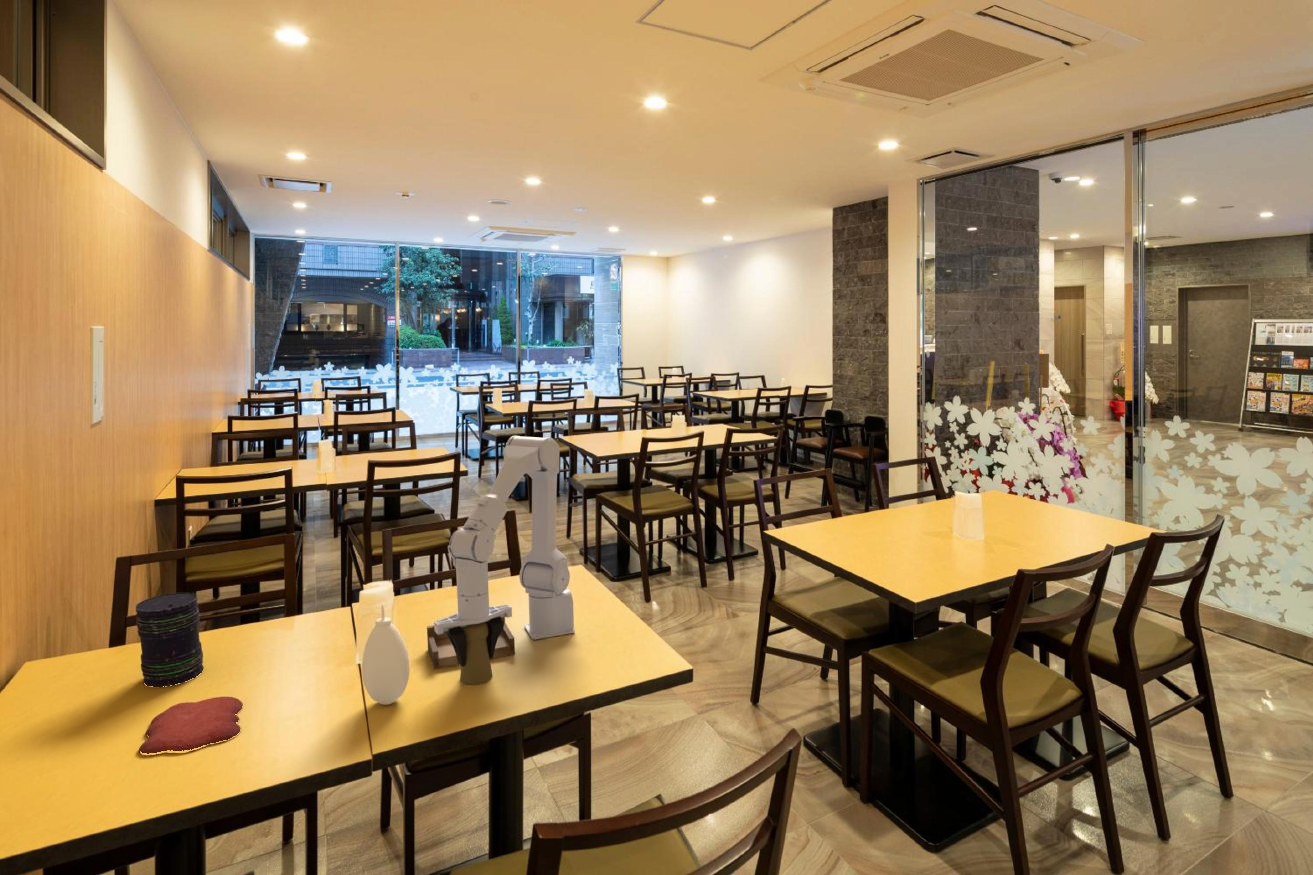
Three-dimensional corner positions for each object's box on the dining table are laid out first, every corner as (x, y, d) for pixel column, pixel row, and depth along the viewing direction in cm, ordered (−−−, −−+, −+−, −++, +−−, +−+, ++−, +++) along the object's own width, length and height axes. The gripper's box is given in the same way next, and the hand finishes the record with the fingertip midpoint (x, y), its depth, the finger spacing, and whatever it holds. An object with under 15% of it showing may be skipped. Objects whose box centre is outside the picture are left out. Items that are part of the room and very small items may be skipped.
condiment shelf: (504, 636, 154) (503, 614, 153) (514, 654, 145) (514, 630, 144) (428, 649, 148) (426, 626, 147) (433, 669, 139) (432, 644, 138)
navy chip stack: (137, 676, 136) (129, 601, 134) (196, 659, 143) (189, 588, 141) (149, 693, 129) (141, 615, 127) (211, 675, 137) (204, 600, 135)
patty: (239, 743, 114) (238, 732, 114) (134, 766, 108) (132, 754, 107) (246, 696, 129) (245, 685, 129) (154, 714, 123) (153, 703, 123)
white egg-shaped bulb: (366, 717, 121) (360, 616, 118) (362, 697, 128) (356, 601, 125) (414, 706, 124) (409, 608, 122) (407, 687, 131) (402, 594, 129)
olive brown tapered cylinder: (496, 670, 138) (494, 616, 136) (486, 685, 132) (484, 629, 130) (466, 669, 138) (464, 615, 137) (455, 684, 132) (452, 628, 131)
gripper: (500, 578, 140) (502, 643, 142) (427, 593, 132) (430, 662, 134) (515, 588, 135) (517, 656, 136) (440, 604, 126) (443, 676, 128)
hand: (475, 660), depth 135 cm, fingers closed on olive brown tapered cylinder, 5 cm apart
